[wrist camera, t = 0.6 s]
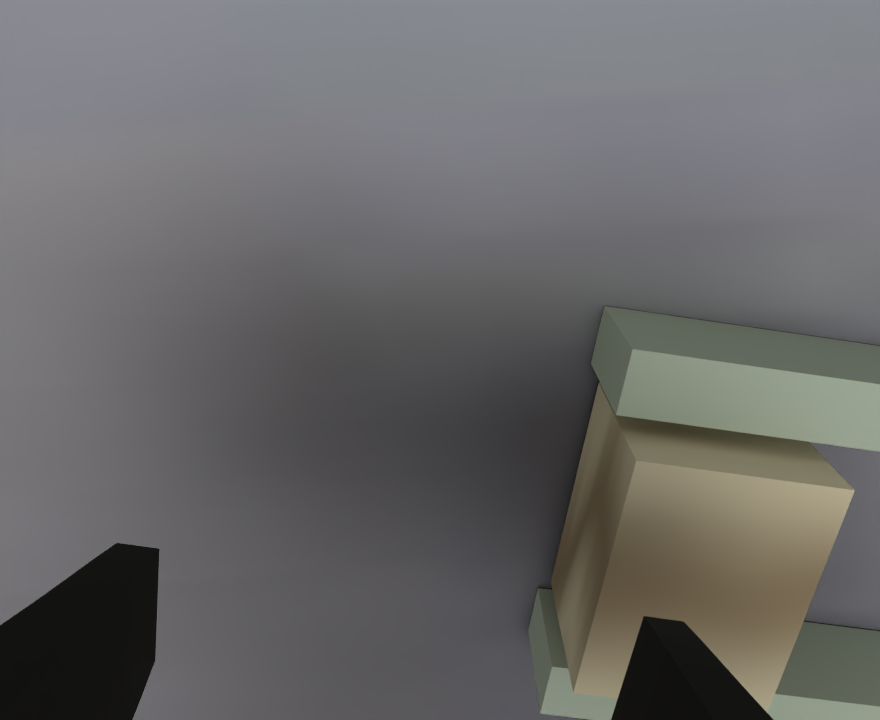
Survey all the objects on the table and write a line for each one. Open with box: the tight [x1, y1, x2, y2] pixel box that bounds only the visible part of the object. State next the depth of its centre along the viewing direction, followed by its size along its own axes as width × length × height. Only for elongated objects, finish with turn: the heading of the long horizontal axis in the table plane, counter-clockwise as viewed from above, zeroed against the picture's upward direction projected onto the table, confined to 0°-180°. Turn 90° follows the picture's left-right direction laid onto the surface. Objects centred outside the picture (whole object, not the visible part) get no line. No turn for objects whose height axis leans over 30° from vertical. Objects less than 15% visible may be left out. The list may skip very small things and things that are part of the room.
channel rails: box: [528, 306, 880, 720], centre depth 19 cm, size 10×11×3 cm
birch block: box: [551, 383, 855, 713], centre depth 18 cm, size 6×4×4 cm
